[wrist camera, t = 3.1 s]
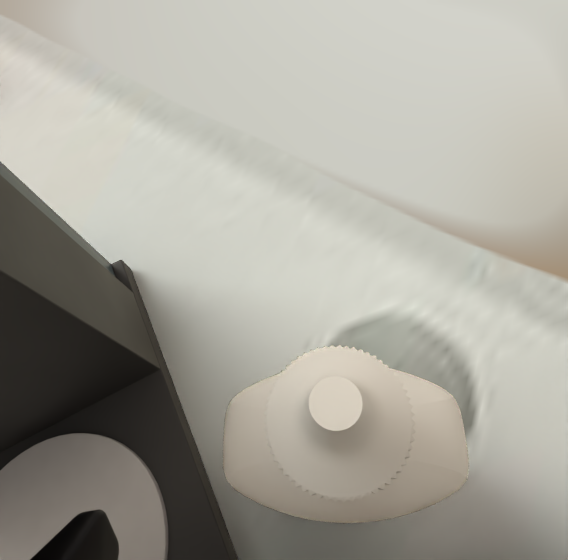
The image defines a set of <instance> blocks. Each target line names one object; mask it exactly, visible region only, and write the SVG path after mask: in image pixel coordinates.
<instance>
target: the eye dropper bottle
mask: <svg viewBox="0 0 568 560" xmlns="http://www.w3.org/2000/svg"><path fill="white" fill-rule="evenodd" d="M223 470H224V474H225V478H226V480H227V481H228V482H229V484H230V485H231V486H232V487H233V488H234V489H235V490H236V491H238V492H239V493H241V494H242V495H244V496H246V497H247V498H249V499H251V500H253V501H255V502H257V503H259V504H261V505H264V506H266V507H268V508H271V509H273V510H276V511H279V512H282V513H285V514H288V515H292V516H296V517H299V518H304V519H309V520H314V521H322V522H332V523H363V522H373V521H380V520H386V519H391V518H396V517H400V516H404V515H407V514H410V513H413V512H416V511H419V510H422V509H424V508H427V507H429V506H431V505H434V504H436V503H438V502H440V501H442V500H444V499H446V498H447V497H449V496H450V495H452V494H454V493H455V492H457V491H458V490H459V489H460V488H461V487H462V486H463V484H464V483H465V482H466V480H467V478H468V472H469V458H468V450H467V443H466V437H465V432H464V426H463V421H462V416H461V412H460V408H459V406H458V404H457V402H456V400H455V398H454V397H453V396H452V395H451V394H450V393H448V392H447V391H446V390H445V389H444V388H442V387H440V386H438V385H436V384H434V383H432V382H429V381H427V380H425V379H422V378H420V377H417V376H414V375H411V374H408V373H405V372H402V371H398V370H394V369H390V368H388V365H385V364H383V362H382V360H377V359H376V356H370V354H369V352H366V353H364V352H363V351H362V349H360V350H356V349H355V347H353V348H351V349H350V348H349V347H348V346H345V347H341V346H340V345H339V346H337V347H334V346H333V345H331V346H330V347H329V348H328V347H326V346H324V347H323V348H322V349H320V348H318V347H317V349H316V350H315V351H314V350H310V352H309V353H304V354H303V356H302V357H301V356H297V360H293V361H291V365H286V370H283V371H281V373H279V374H276V375H273V376H271V377H268V378H266V379H264V380H261V381H259V382H257V383H255V384H253V385H251V386H249V387H248V388H246V389H244V390H243V391H241V392H239V393H238V394H237V395H236V396H235V397H234V398H233V399H232V400H231V401H230V403H229V406H228V408H227V411H226V416H225V424H224V437H223Z"/></svg>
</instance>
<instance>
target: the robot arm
mask: <svg viewBox="0 0 568 560" xmlns="http://www.w3.org/2000/svg"><path fill="white" fill-rule="evenodd" d="M118 556H119V543H118V540H117V537H116V535H115V533H114V530H113V528H112V526H111V524H110V521H109V519H108V517H107V515H106V513H105V512H104V511H103V510H100V509H98V510H92V511H86V512H82V513H79V514H78V515H77V516H75V517H74V518H73V519H72V520H71V521H70V522H69V523H68V524H67V525H66V526H65V527H64V528H63V529H62V530H61V531H60V532H59V533H58V534H56V535H55V536H54V537H53V538H52V539H51V540H50V541H49V542H48V543H47V544H46V545H45V546H44V547H43V548H42V549H41V550H40V551H39V552H38V553H37V554H35V555H34V556H33V557H32V558H31V559H30V560H118Z"/></svg>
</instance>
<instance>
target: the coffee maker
mask: <svg viewBox="0 0 568 560" xmlns="http://www.w3.org/2000/svg"><path fill="white" fill-rule="evenodd" d="M98 509H100V510H103V511H104V512H105V513H106V515H107V517H108V519H109V521H110V524H111V526H112V528H113V530H114V533H115V535H116V537H117V540H118V543H119V556H118V560H238V558H237V555H236V553H235V550H234V547H233V544H232V542H231V539H230V536H229V534H228V531H227V528H226V525H225V523H224V520H223V517H222V515H221V512H220V509H219V507H218V504H217V501H216V498H215V496H214V493H213V490H212V488H211V485H210V482H209V480H208V477H207V474H206V471H205V469H204V466H203V463H202V461H201V458H200V455H199V453H198V450H197V447H196V444H195V442H194V439H193V436H192V434H191V431H190V428H189V425H188V423H187V420H186V417H185V415H184V412H183V409H182V407H181V404H180V401H179V398H178V396H177V393H176V390H175V388H174V385H173V382H172V380H171V377H170V374H169V371H168V369H167V366H166V363H165V361H164V358H163V355H162V353H161V350H160V347H159V344H158V342H157V339H156V336H155V334H154V331H153V328H152V325H151V323H150V320H149V317H148V315H147V312H146V309H145V307H144V304H143V301H142V298H141V296H140V293H139V290H138V288H137V285H136V282H135V280H134V277H133V274H132V271H131V269H130V268H129V267H128V266H127V265H126V264H125V263H124V262H123V261H122V260H119V261H117V262H115V263H113V264H110V263H109V262H108V261H107V260H106V259H105V258H104V257H103V256H102V255H100V254H99V253H98V252H97V251H96V250H95V249H94V248H93V247H92V246H91V245H90V244H89V243H88V242H86V241H85V240H84V239H83V238H82V237H81V236H80V235H79V234H78V233H77V232H76V231H75V230H74V229H72V228H71V227H70V226H69V225H68V224H67V223H66V222H65V221H64V220H63V219H62V218H61V217H60V216H58V215H57V214H56V213H55V212H54V211H53V210H52V209H51V208H50V207H49V206H48V205H47V204H45V203H44V202H43V201H42V200H41V199H40V198H39V197H38V196H37V195H36V194H35V193H34V192H33V191H31V190H30V189H29V188H28V187H27V186H26V185H25V184H24V183H23V182H22V181H21V180H20V179H19V178H17V177H16V176H15V175H14V174H13V173H12V172H11V171H10V170H9V169H8V168H7V167H6V166H4V165H3V164H2V163H1V162H0V560H30V559H31V558H32V557H33V556H34V555H35V554H37V553H38V552H39V551H40V550H41V549H42V548H43V547H44V546H45V545H46V544H47V543H48V542H49V541H50V540H51V539H52V538H53V537H54V536H55V535H56V534H58V533H59V532H60V531H61V530H62V529H63V528H64V527H65V526H66V525H67V524H68V523H69V522H70V521H71V520H72V519H73V518H74V517H75V516H77V515H78V514H79V513H82V512H86V511H92V510H98Z"/></svg>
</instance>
